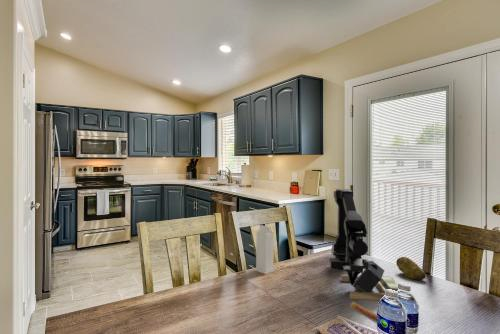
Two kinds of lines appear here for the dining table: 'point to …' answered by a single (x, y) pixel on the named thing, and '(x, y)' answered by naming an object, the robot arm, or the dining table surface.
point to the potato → (410, 268)
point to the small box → (368, 279)
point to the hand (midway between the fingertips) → (351, 285)
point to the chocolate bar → (364, 311)
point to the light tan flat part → (382, 285)
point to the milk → (264, 250)
